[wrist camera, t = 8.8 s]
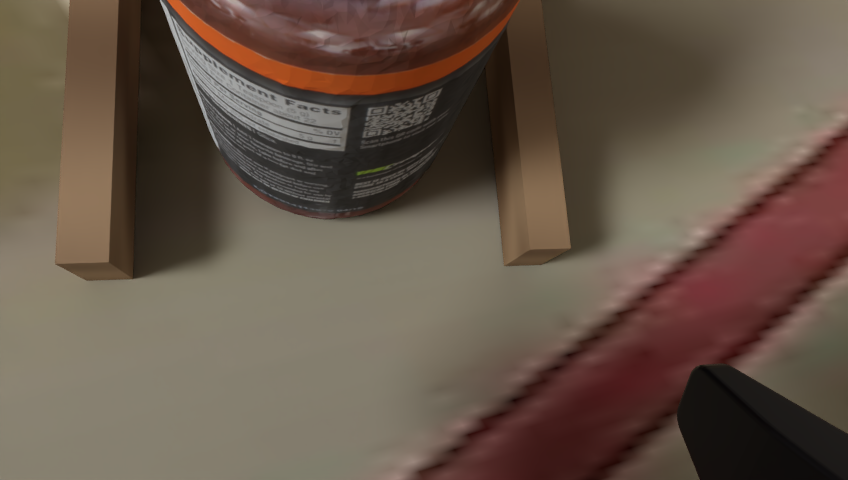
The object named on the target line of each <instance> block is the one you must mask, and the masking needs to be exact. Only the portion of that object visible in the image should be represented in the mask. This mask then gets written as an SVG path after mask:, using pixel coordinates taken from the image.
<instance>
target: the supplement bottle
mask: <svg viewBox="0 0 848 480" xmlns="http://www.w3.org/2000/svg"><path fill="white" fill-rule="evenodd" d="M519 1H520V0H160V2H161V5H162V7H163V10H164V12H165V15H166V17H167V20H168V23H169V26H170V28H171V31H172V34H173V36H174V39H175V41H176V44H177V47H178V49H179V52H180V54H181V57H182V59H183V62H184V65H185V67H186V70H187V73H188V75H189V78H190V81H191V83H192V86H193V89H194V91H195V94H196V96H197V99H198V102H199V104H200V107H201V109H202V112H203V115H204V117H205V120H206V123H207V126H208V128H209V131H210V133H211V135H212V137H213V139H214V142H215V143H216V145H217V147H218V150H219V151H220V153H221V155H222V157H223V159H224V161H225V163H226V164H227V166H228V167H229V168H230V170H231V171H232V172H233V173H234V175H235V176H236V177H237V178H238V179H239V180H240V181H241V182H242V183H243V184H244V185H245V186H246V187H247V188H248V189H250V190H251V191H252V192H253V193H255V194H256V195H257V196H259V197H260V198H262V199H263V200H265V201H267V202H269V203H270V204H272V205H274V206H276V207H278V208H280V209H283V210H286V211H289V212H292V213H294V214H298V215H303V216H306V217H311V218H319V219H335V218H346V217H353V216H358V215H363V214H366V213H369V212H372V211H374V210H377V209H380V208H382V207H384V206H386V205H388V204H389V203H391V202H392V201H394V200H396V199H398V198H399V197H401V196H402V195H403V194H404V193H405V192H406V191H408V190H409V189H410V188H411V187H412V186H414V185H415V184H416V183H417V182H418V180H419V179H420V178H421V176H422V175H423V174H424V172H425V171H426V170H427V169H428V168H429V167H430V165H431V164H432V162H433V160H434V159H435V157H436V155H437V153H438V151H439V150H440V148H441V146H442V144H443V142H444V141H445V139H446V137H447V135H448V133H449V132H450V130H451V128H452V126H453V124H454V122H455V120H456V118H457V116H458V115H459V113H460V111H461V109H462V107H463V106H464V104H465V102H466V100H467V98H468V96H469V94H470V92H471V91H472V89H473V88H474V86H475V84H476V82H477V80H478V78H479V76H480V74H481V73H482V71H483V69H484V67H485V65H486V64H487V62H488V60H489V58H490V56H491V54H492V52H493V50H494V48H495V46H496V45H497V43H498V41H499V39H500V38H501V36H502V34H503V32H504V31H505V30H506V28H507V25H508V23H509V20H510V18H511V16H512V14H513V12H514V10H515V9H516V7H517V5H518V3H519Z"/></svg>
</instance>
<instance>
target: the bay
mask: <svg viewBox="0 0 848 480" xmlns="http://www.w3.org/2000/svg"><path fill="white" fill-rule="evenodd" d="M140 27H141V0H70V7H69V25H68V43H67V60H66V78H65V96H64V114H63V132H62V149H61V167H60V185H59V203H58V221H57V239H56V256H55V264H56V265H58V266H60V267H62V268H64V269H66V270H68V271H70V272H71V273H73V274H75V275H77V276H79V277H81V278H83V279H85V280H116V279H133V263H134V230H135V196H136V162H137V128H138V94H139V60H140ZM485 72H486V82H487V92H488V103H489V113H490V124H491V134H492V145H493V155H494V165H495V176H496V186H497V197H498V207H499V217H500V228H501V238H502V249H503V259H504V266H519V265H541V264H543V263H545V262H547V261H549V260H550V259H552V258H554V257H556V256H558V255H560V254H562V253H563V252H565V251H567V250H569V249H571V244H570V235H569V227H568V219H567V210H566V202H565V194H564V185H563V177H562V168H561V160H560V152H559V143H558V135H557V127H556V118H555V110H554V101H553V93H552V85H551V76H550V68H549V59H548V51H547V43H546V34H545V26H544V18H543V9H542V1H541V0H520V1H519V3H518V5H517V7H516V9H515V10H514V12H513V14H512V16H511V18H510V20H509V23H508V25H507V28H506V30H505V31H504V32H503V34H502V36H501V38H500V39H499V41H498V43H497V45H496V46H495V48H494V50H493V52H492V54H491V56H490V58H489V60H488V62H487V64H486V65H485Z"/></svg>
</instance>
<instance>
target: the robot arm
mask: <svg viewBox="0 0 848 480" xmlns="http://www.w3.org/2000/svg"><path fill="white" fill-rule="evenodd" d="M677 420H678V425H679V428H680V431H681V433H682V436H683V438H684V441H685V443H686V446H687V448H688V451H689V453H690V456H691V458H692V461H693V463H694V466H695V468H696V471H697V473H698V476H699V478H700V480H848V434H847V433H845V432H843V431H842V430H840V429H838V428H836V427H835V426H833V425H831V424H829V423H828V422H826V421H824V420H823V419H821V418H819V417H817V416H816V415H814V414H812V413H811V412H809V411H807V410H805V409H804V408H802V407H800V406H799V405H797V404H795V403H793V402H792V401H790V400H788V399H787V398H785V397H783V396H781V395H780V394H778V393H776V392H774V391H773V390H771V389H769V388H768V387H766V386H764V385H762V384H761V383H759V382H757V381H756V380H754V379H752V378H750V377H749V376H747V375H745V374H744V373H742V372H740V371H738V370H737V369H735V368H733V367H731V366H729V365H727V364H708V365H699V366H697V367H696V368H695V369H693V370H692V372H691V374H690V377H689V380H688V382H687V385H686V388H685V390H684V393H683V395H682V398H681V401H680V403H679V406H678V410H677Z"/></svg>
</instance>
